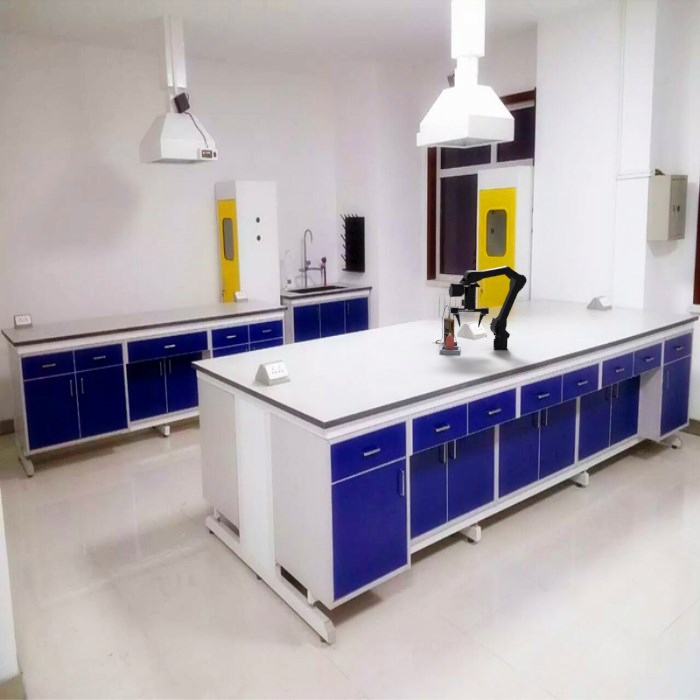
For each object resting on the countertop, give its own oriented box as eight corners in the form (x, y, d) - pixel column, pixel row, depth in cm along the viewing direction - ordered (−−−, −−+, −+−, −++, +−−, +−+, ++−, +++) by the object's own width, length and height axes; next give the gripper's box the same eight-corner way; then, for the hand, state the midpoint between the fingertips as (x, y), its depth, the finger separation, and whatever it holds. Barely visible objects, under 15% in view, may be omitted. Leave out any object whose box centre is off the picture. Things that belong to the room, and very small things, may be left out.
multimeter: (428, 341, 343) (428, 305, 338) (445, 340, 346) (445, 303, 341) (440, 347, 329) (440, 309, 325) (457, 345, 332) (458, 307, 328)
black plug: (457, 346, 327) (457, 340, 325) (456, 350, 324) (456, 344, 322) (442, 346, 328) (442, 340, 326) (442, 349, 325) (442, 344, 324)
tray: (460, 350, 321) (460, 346, 321) (459, 354, 312) (460, 350, 311) (440, 349, 323) (440, 345, 323) (439, 354, 314) (439, 350, 313)
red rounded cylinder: (454, 350, 319) (454, 332, 317) (453, 351, 315) (453, 334, 313) (446, 349, 320) (446, 332, 318) (445, 351, 316) (445, 334, 314)
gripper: (489, 294, 320) (488, 324, 323) (451, 293, 324) (451, 323, 327) (489, 297, 309) (488, 328, 313) (450, 296, 313) (450, 327, 317)
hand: (469, 327), depth 318 cm, fingers open, 9 cm apart
